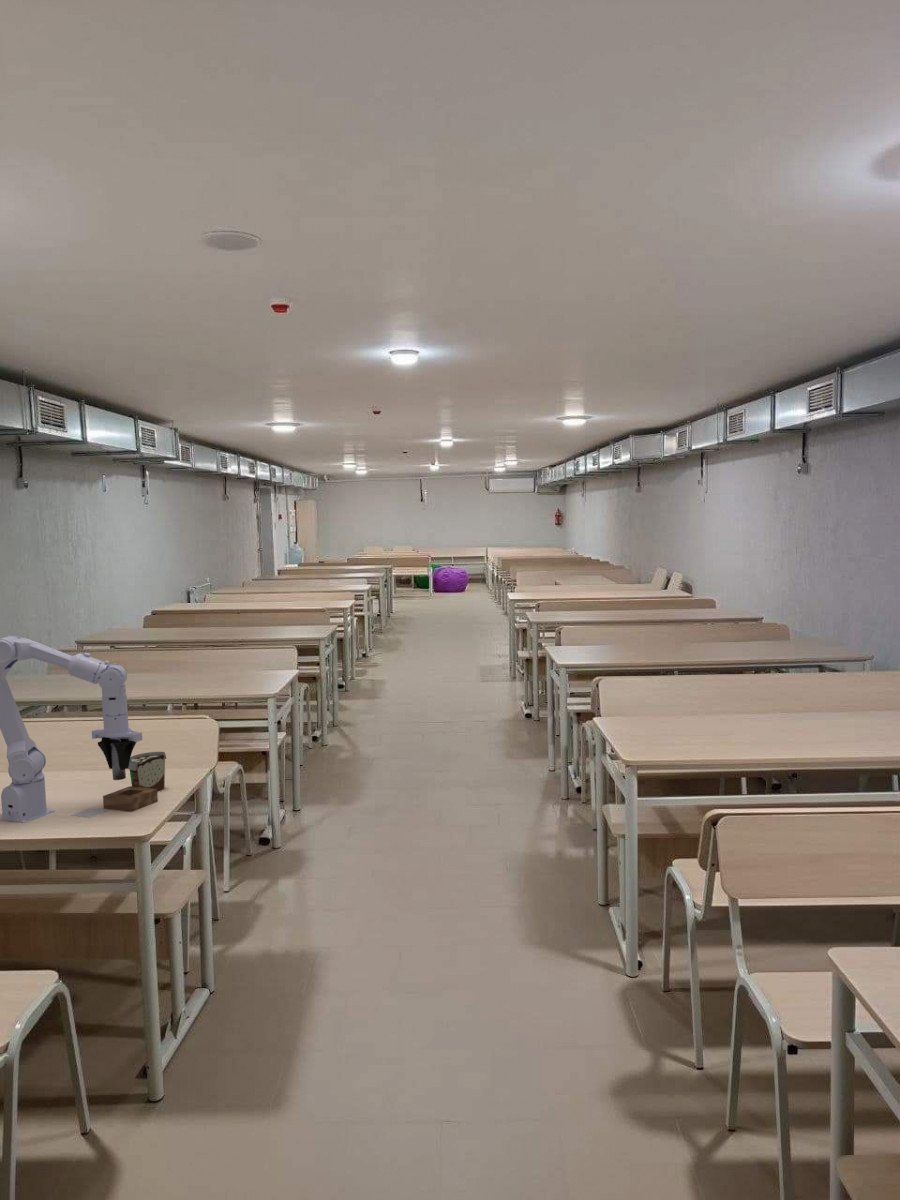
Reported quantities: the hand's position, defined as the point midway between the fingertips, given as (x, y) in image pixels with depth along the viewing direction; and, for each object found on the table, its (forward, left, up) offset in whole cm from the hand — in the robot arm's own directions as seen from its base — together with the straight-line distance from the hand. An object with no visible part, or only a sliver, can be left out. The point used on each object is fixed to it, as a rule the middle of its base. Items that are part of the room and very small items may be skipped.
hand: (119, 768), depth 219 cm
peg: (0, 0, -3) cm, 3 cm away
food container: (+12, +4, -10) cm, 16 cm away
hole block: (+2, -1, -10) cm, 10 cm away
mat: (-6, +4, -10) cm, 12 cm away
